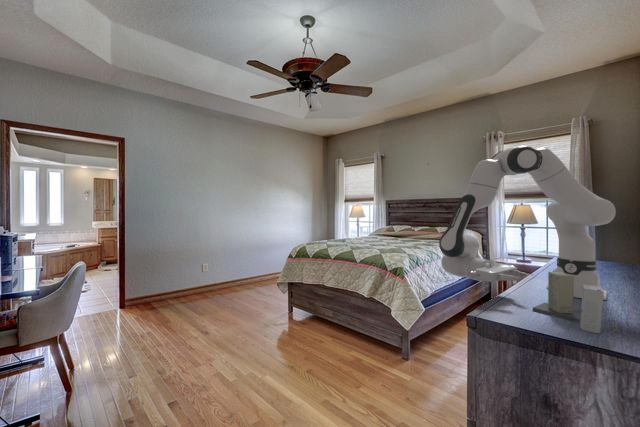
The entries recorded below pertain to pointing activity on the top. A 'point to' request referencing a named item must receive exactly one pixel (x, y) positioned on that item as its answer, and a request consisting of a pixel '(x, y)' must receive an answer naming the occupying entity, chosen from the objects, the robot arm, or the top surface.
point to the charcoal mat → (546, 310)
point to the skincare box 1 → (561, 292)
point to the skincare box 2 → (591, 308)
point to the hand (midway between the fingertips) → (520, 277)
